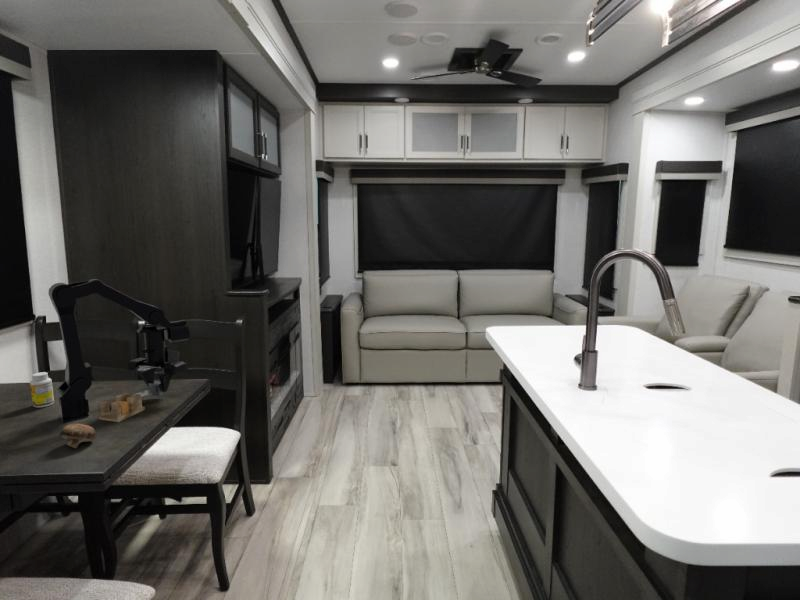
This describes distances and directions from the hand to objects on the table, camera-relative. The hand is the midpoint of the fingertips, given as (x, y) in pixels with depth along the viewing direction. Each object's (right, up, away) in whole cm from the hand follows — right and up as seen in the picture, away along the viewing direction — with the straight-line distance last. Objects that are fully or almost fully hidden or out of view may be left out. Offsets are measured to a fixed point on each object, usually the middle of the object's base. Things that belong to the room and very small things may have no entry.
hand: (158, 391), depth 164 cm
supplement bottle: (-34, -4, -6) cm, 34 cm away
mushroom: (-4, -8, -34) cm, 35 cm away
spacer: (-5, -4, -14) cm, 15 cm away
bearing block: (-4, -5, -14) cm, 15 cm away
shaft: (-2, -2, -5) cm, 5 cm away
